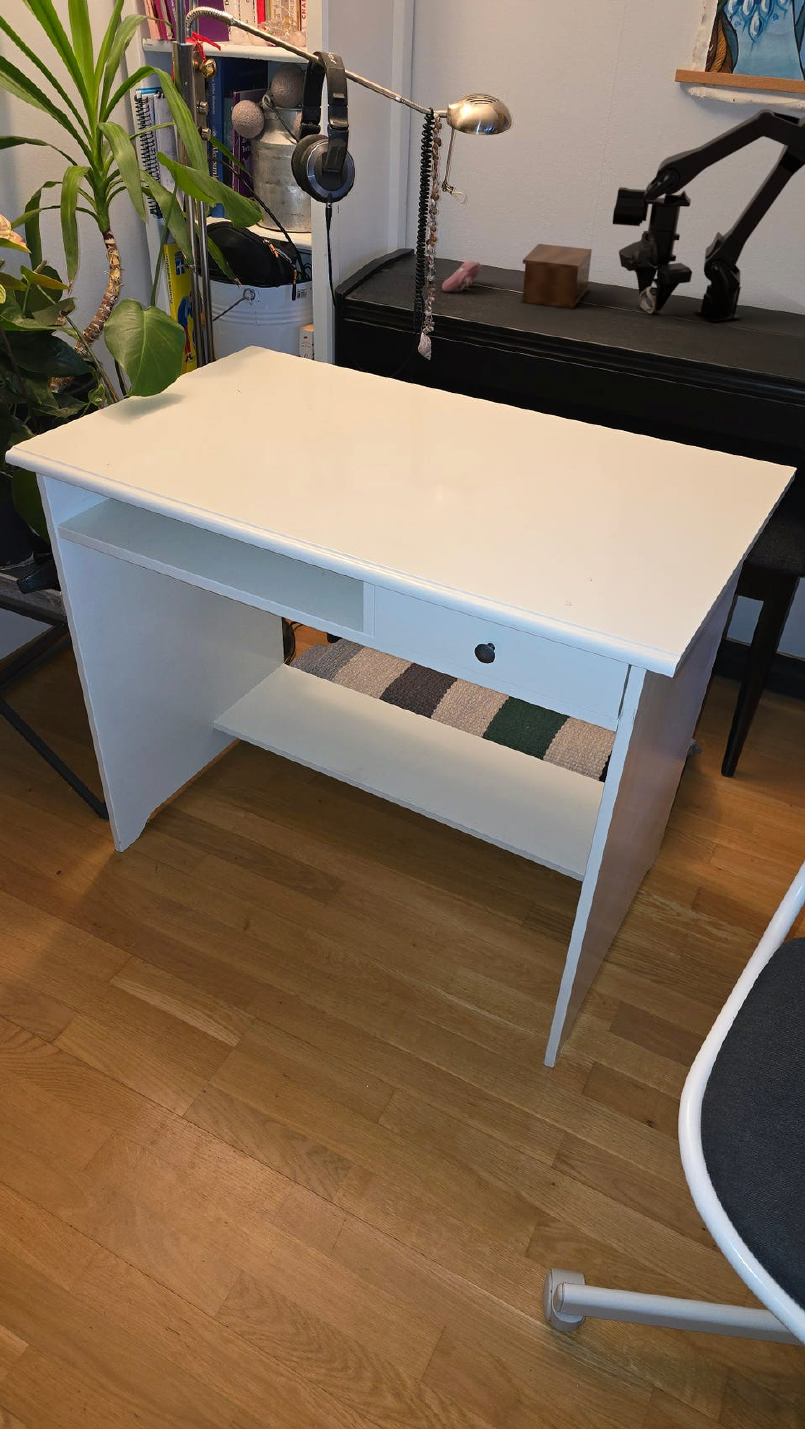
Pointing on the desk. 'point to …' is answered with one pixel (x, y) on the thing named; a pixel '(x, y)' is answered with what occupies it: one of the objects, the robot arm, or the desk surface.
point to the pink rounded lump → (463, 276)
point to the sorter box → (555, 284)
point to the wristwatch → (652, 295)
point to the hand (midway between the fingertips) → (650, 305)
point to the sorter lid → (557, 256)
